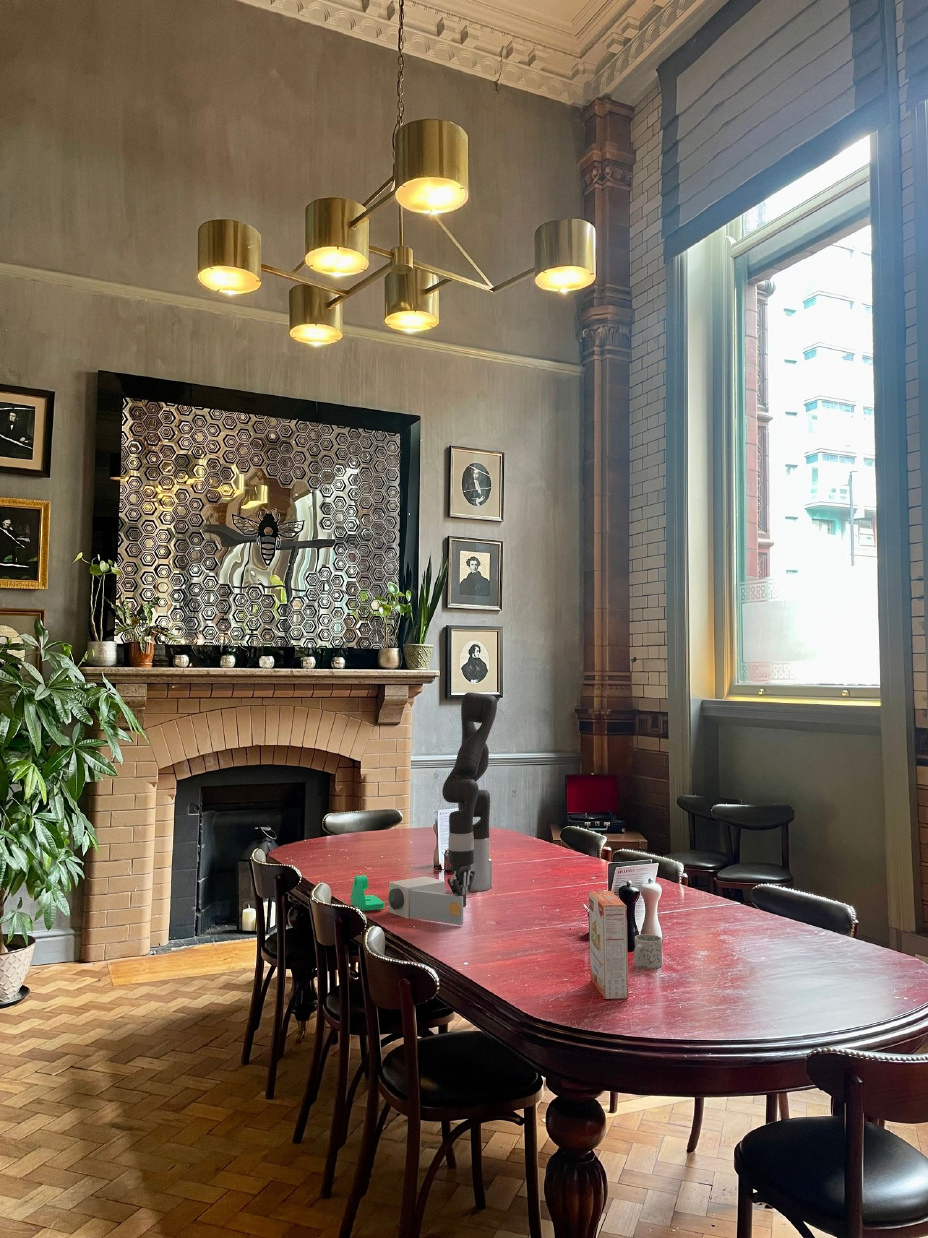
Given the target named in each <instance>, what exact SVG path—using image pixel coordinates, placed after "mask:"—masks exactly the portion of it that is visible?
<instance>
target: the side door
mask: <svg viewBox="0 0 928 1238" xmlns="http://www.w3.org/2000/svg"><path fill="white" fill-rule="evenodd" d="M409 919H416V920H422V921H430V922H436V923H442V924H450V925H456V926H463V925H464V908H463V896H457V894H449V893H445V894H441V893H434V892H426V891H418V890H409Z"/></svg>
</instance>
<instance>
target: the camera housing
mask: <svg viewBox="0 0 928 1238" xmlns="http://www.w3.org/2000/svg"><path fill="white" fill-rule="evenodd" d="M409 890H418V891H426V892H434V893H441V894H446V881H444V880H441V879H437V878H434V877H430V876H426V875H425V876H420V877H412V878H407V879H400V880H396V881H395V880H394V881H389V882H388V912H389V913H391V914H393V915H396V916H399V917H402V918H405V919H406V920H408V919H410V918H409Z"/></svg>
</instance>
